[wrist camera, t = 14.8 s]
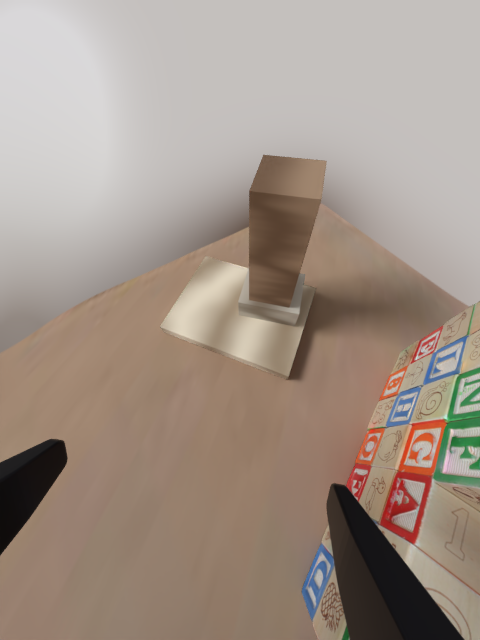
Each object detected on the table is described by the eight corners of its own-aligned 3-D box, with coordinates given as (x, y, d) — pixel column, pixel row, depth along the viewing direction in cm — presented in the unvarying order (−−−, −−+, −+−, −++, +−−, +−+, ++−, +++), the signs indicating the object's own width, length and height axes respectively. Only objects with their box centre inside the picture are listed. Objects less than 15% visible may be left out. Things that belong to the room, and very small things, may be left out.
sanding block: (300, 288, 26) (343, 158, 14) (294, 326, 24) (340, 207, 12) (249, 279, 27) (250, 149, 15) (238, 315, 25) (230, 194, 13)
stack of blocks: (391, 681, 14) (942, 1580, 3) (298, 590, 15) (412, 915, 5) (466, 385, 22) (682, 324, 11) (399, 349, 24) (525, 268, 13)
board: (313, 294, 27) (316, 287, 26) (286, 379, 22) (288, 376, 21) (207, 262, 30) (205, 255, 29) (163, 331, 25) (159, 326, 24)
